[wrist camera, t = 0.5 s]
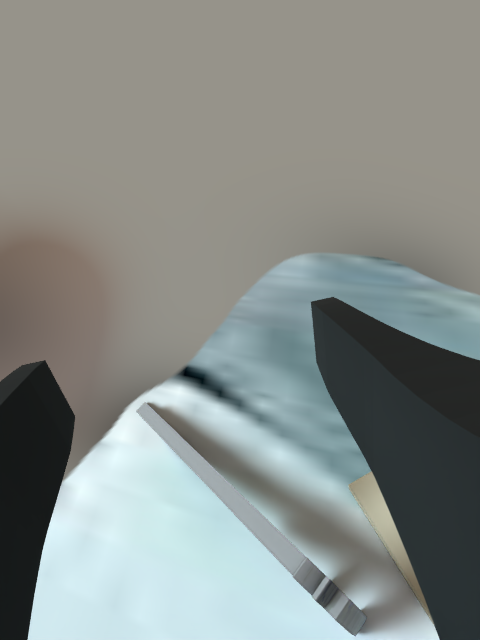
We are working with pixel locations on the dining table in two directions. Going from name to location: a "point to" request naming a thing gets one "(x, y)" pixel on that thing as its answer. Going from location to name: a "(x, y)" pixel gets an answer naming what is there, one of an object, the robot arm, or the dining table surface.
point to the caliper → (262, 529)
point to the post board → (385, 529)
